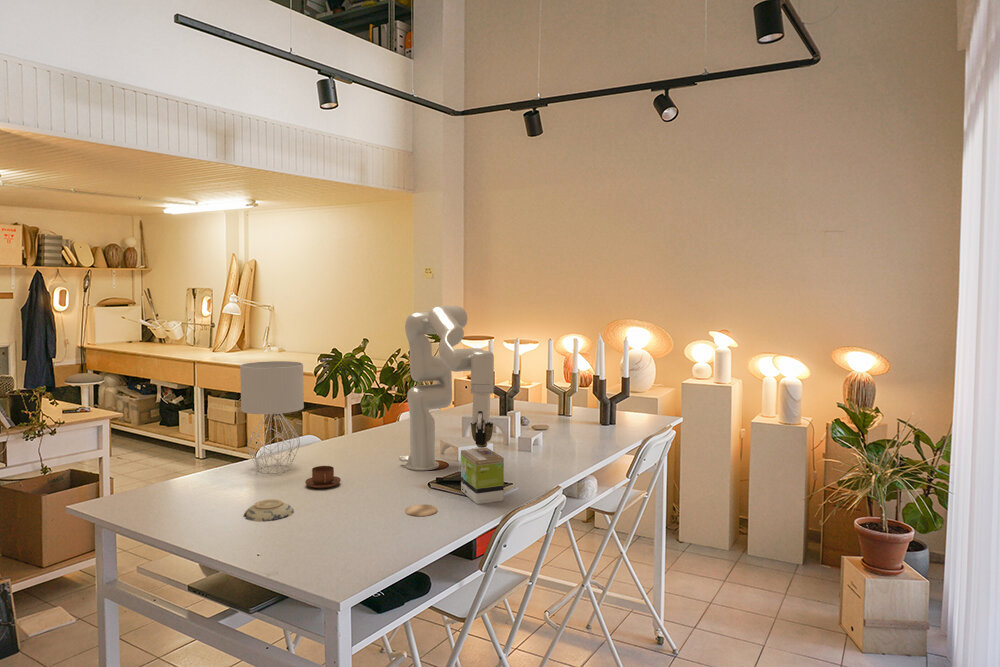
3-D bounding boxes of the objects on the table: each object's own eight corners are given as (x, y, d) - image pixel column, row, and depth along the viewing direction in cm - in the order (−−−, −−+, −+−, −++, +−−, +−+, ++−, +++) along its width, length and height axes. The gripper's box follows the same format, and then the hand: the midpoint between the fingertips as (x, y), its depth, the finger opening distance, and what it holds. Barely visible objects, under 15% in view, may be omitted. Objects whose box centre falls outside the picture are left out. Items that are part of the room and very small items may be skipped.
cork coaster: (401, 515, 214) (401, 514, 214) (408, 505, 224) (408, 503, 224) (434, 516, 213) (434, 515, 213) (440, 506, 223) (440, 505, 223)
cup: (481, 443, 238) (481, 419, 238) (497, 446, 233) (497, 422, 233) (466, 446, 232) (466, 423, 232) (482, 450, 228) (482, 426, 227)
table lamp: (237, 479, 253) (235, 368, 250) (247, 463, 275) (245, 361, 272) (302, 476, 257) (300, 367, 254) (306, 460, 279) (305, 360, 276)
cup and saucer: (346, 486, 245) (346, 469, 245) (315, 492, 237) (314, 475, 237) (330, 479, 254) (330, 462, 254) (299, 485, 246) (299, 467, 246)
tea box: (459, 492, 239) (460, 449, 238) (487, 488, 243) (487, 446, 242) (475, 504, 225) (476, 459, 224) (504, 501, 229) (505, 456, 228)
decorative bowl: (304, 514, 217) (276, 503, 226) (304, 502, 216) (276, 492, 226) (260, 527, 205) (233, 515, 215) (260, 515, 205) (233, 504, 214)
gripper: (474, 384, 240) (473, 435, 242) (467, 392, 223) (467, 447, 224) (496, 384, 240) (495, 436, 241) (490, 393, 222) (490, 448, 224)
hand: (481, 441), depth 233 cm, fingers closed on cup, 7 cm apart
